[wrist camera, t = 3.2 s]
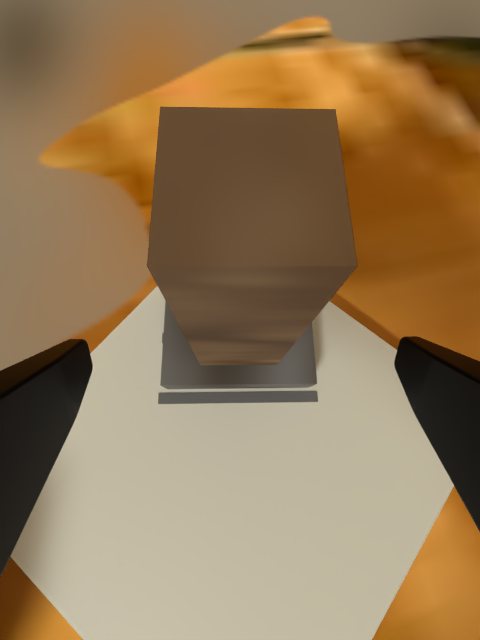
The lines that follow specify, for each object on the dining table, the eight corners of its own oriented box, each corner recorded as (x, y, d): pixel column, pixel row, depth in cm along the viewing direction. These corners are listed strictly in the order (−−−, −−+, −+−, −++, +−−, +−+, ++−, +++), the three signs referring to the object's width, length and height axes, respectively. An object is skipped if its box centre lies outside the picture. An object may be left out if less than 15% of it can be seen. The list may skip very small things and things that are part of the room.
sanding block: (300, 290, 20) (413, 79, 8) (308, 387, 18) (472, 315, 6) (173, 291, 20) (76, 73, 7) (167, 389, 18) (28, 316, 6)
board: (474, 418, 19) (490, 417, 18) (260, 808, 14) (263, 844, 13) (221, 232, 23) (220, 221, 21) (-29, 487, 17) (-48, 492, 16)
